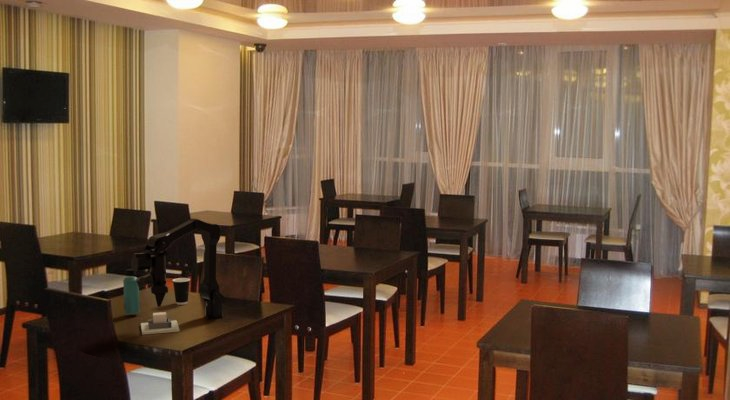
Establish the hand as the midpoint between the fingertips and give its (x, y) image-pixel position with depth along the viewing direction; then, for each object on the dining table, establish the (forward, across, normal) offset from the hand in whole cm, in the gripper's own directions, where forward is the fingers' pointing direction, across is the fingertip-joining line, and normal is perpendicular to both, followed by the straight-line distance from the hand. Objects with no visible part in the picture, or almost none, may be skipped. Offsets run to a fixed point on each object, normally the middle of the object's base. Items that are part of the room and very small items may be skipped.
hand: (158, 306), depth 298 cm
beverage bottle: (+9, -25, -10) cm, 28 cm away
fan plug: (+8, 0, 0) cm, 8 cm away
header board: (+9, 0, 0) cm, 9 cm away
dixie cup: (+9, -41, +12) cm, 44 cm away
